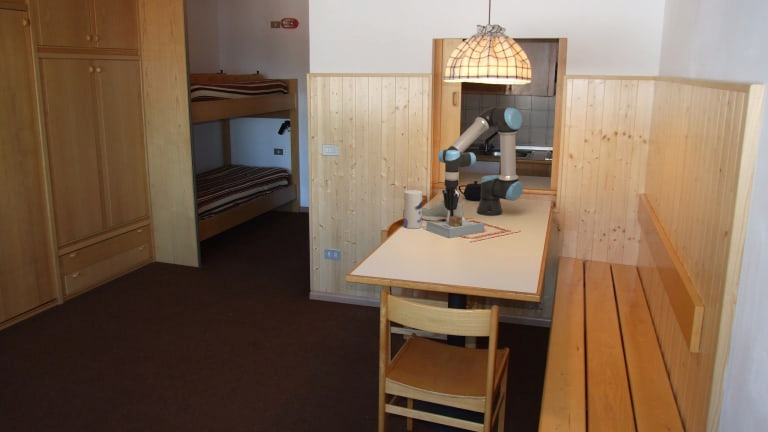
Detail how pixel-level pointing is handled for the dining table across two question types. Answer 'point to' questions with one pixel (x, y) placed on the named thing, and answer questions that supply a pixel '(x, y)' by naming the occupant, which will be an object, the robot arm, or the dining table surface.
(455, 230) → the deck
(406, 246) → the dining table surface
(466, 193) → the teapot
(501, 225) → the dining table surface
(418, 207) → the container
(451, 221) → the block
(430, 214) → the running shoe
